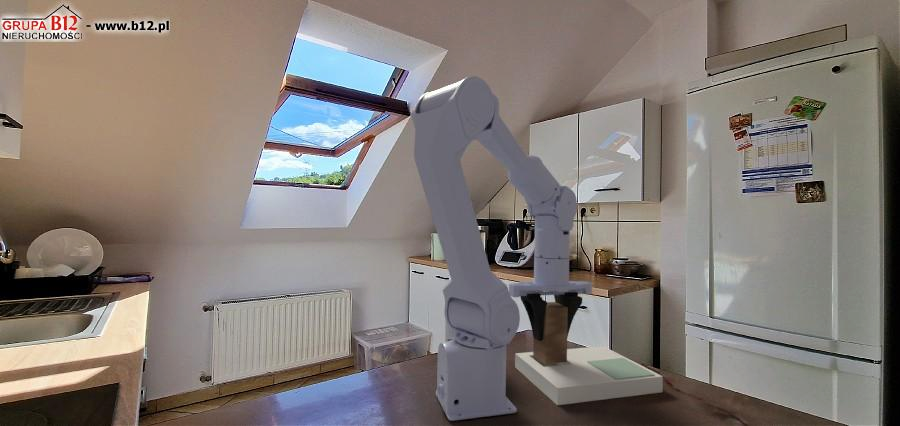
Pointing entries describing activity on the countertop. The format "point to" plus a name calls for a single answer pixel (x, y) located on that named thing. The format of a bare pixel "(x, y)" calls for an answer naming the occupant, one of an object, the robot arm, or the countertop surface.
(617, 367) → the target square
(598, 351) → the board
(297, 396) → the countertop surface
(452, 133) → the robot arm
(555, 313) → the walnut block
